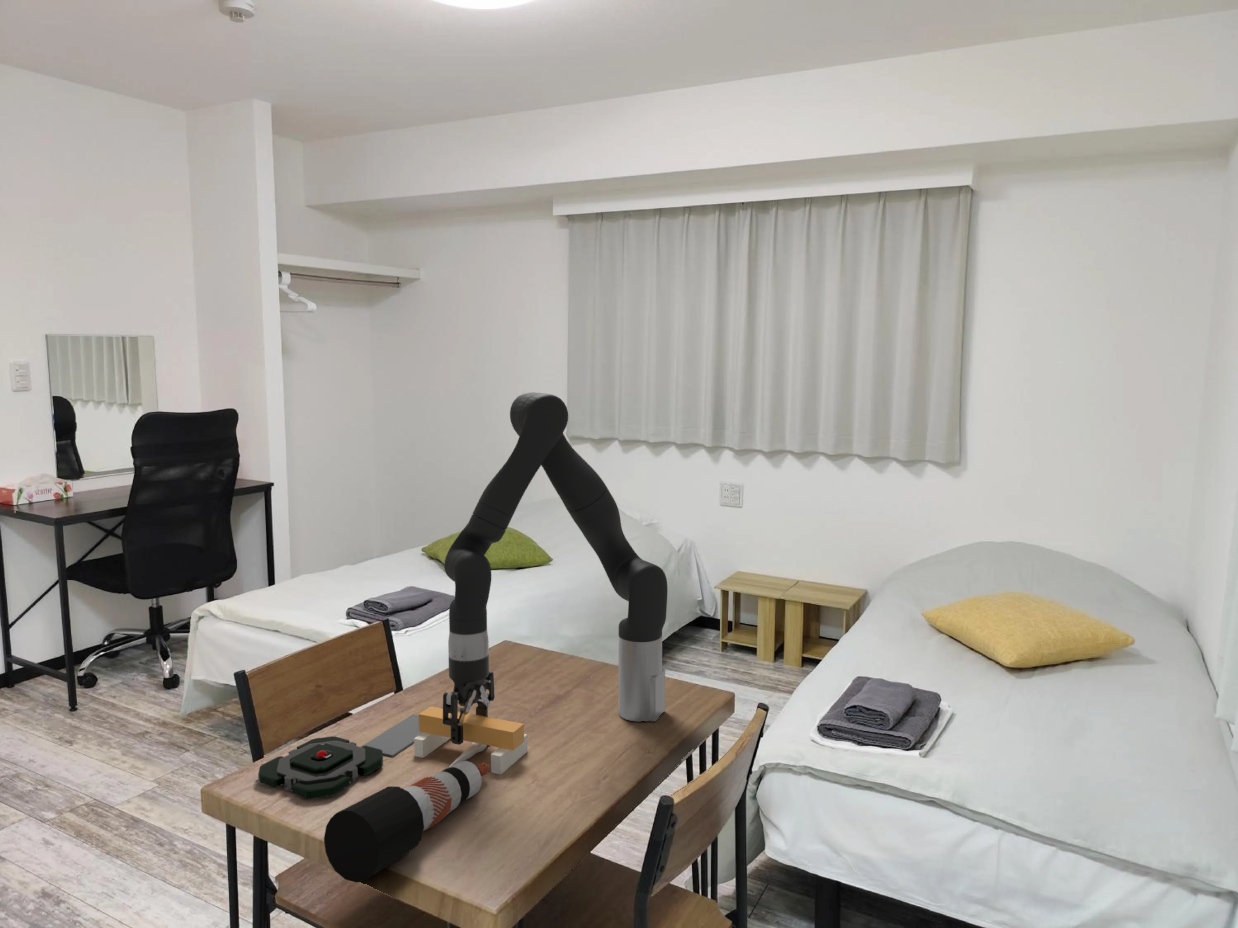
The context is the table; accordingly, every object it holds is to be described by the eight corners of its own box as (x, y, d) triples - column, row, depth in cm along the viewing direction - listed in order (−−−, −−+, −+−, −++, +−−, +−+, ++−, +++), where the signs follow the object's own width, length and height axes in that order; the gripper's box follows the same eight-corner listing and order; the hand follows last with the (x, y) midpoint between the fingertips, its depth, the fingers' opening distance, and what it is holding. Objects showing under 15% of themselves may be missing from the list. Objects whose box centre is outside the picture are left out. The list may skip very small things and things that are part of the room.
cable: (492, 808, 152) (517, 763, 150) (361, 897, 121) (389, 842, 119) (452, 772, 156) (475, 728, 154) (314, 849, 125) (341, 795, 123)
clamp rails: (527, 751, 164) (527, 734, 164) (500, 774, 155) (500, 756, 155) (444, 734, 172) (444, 718, 171) (414, 755, 163) (413, 738, 162)
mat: (444, 722, 178) (444, 720, 178) (392, 756, 162) (392, 754, 162) (412, 716, 181) (412, 714, 181) (359, 749, 165) (359, 747, 165)
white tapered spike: (488, 738, 171) (487, 729, 171) (499, 740, 170) (499, 731, 170) (443, 770, 157) (442, 760, 157) (455, 773, 156) (454, 763, 156)
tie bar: (524, 741, 161) (523, 723, 160) (513, 750, 157) (513, 732, 157) (431, 723, 169) (430, 706, 169) (419, 731, 165) (418, 713, 165)
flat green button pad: (324, 744, 168) (323, 722, 168) (394, 764, 160) (393, 741, 159) (247, 784, 152) (246, 760, 152) (320, 809, 144) (319, 783, 144)
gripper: (464, 667, 153) (466, 753, 155) (505, 643, 166) (506, 723, 168) (429, 661, 156) (431, 746, 158) (472, 638, 169) (473, 716, 171)
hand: (469, 734), depth 163 cm, fingers open, 8 cm apart
